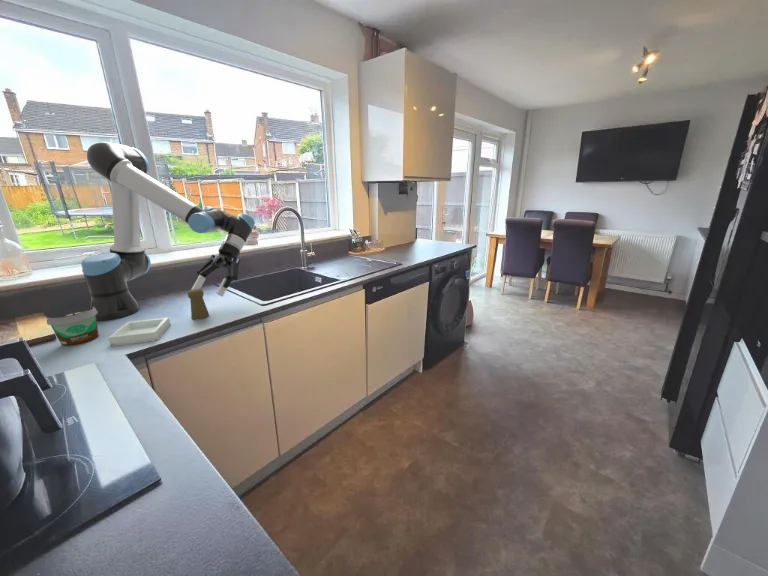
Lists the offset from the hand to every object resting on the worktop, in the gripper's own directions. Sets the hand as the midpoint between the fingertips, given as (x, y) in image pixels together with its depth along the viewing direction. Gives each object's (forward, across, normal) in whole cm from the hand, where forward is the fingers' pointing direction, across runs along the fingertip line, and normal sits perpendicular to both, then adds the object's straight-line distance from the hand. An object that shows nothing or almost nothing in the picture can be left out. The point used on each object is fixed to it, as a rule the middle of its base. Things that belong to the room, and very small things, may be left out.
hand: (206, 292), depth 125 cm
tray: (+22, +5, +10) cm, 25 cm away
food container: (+29, +18, +17) cm, 39 cm away
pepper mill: (+9, +1, -4) cm, 10 cm away
